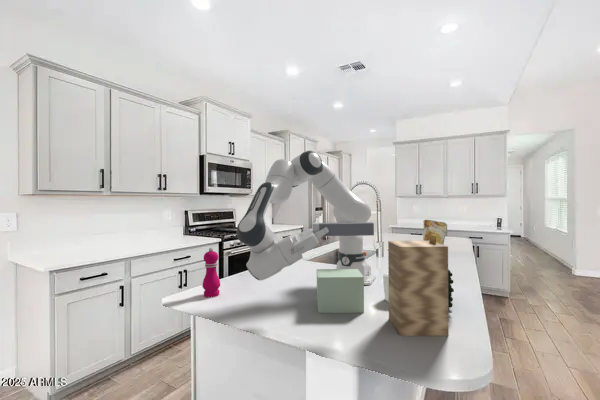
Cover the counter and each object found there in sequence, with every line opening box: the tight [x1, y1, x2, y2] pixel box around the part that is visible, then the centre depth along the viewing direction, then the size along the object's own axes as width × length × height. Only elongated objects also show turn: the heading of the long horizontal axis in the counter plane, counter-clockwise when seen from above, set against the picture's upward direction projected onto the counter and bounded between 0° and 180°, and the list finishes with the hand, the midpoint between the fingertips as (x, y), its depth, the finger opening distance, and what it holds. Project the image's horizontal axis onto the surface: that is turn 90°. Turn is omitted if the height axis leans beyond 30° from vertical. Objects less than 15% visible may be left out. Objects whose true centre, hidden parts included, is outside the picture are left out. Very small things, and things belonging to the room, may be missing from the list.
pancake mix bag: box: [422, 219, 448, 245], centre depth 155 cm, size 7×19×28 cm, turn 4°
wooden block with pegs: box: [387, 235, 449, 337], centre depth 95 cm, size 14×12×28 cm
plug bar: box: [312, 221, 375, 237], centre depth 103 cm, size 20×4×4 cm, turn 89°
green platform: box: [316, 268, 365, 314], centre depth 113 cm, size 16×12×12 cm
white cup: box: [382, 272, 389, 303], centre depth 119 cm, size 8×8×10 cm
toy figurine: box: [448, 269, 455, 308], centre depth 117 cm, size 9×19×25 cm
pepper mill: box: [201, 247, 221, 298], centre depth 128 cm, size 7×7×20 cm
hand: (327, 228), depth 103 cm, fingers closed on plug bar, 4 cm apart
